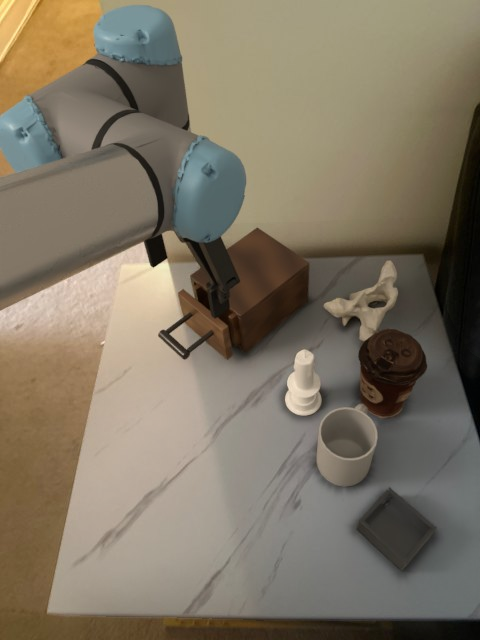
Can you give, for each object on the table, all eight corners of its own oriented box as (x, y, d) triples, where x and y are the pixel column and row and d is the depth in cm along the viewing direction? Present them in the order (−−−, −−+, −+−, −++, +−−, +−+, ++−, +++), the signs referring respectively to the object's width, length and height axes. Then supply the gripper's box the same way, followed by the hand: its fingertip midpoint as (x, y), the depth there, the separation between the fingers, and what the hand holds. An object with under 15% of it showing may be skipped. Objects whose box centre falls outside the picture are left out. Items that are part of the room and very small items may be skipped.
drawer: (197, 385, 85) (189, 356, 79) (155, 345, 90) (145, 315, 84) (287, 310, 92) (287, 279, 86) (244, 278, 97) (241, 246, 91)
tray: (401, 571, 68) (406, 564, 65) (356, 529, 71) (358, 520, 69) (431, 536, 70) (436, 527, 68) (385, 496, 74) (389, 486, 71)
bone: (326, 329, 92) (320, 296, 86) (370, 273, 98) (367, 239, 92) (375, 350, 87) (372, 317, 81) (418, 290, 93) (418, 255, 87)
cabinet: (245, 353, 89) (240, 316, 81) (197, 313, 95) (189, 275, 87) (308, 301, 94) (309, 262, 87) (259, 266, 100) (257, 227, 92)
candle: (284, 384, 85) (284, 338, 76) (320, 384, 85) (324, 337, 75) (285, 416, 82) (284, 372, 72) (322, 416, 81) (326, 371, 72)
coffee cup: (361, 431, 80) (372, 383, 69) (343, 382, 85) (350, 330, 74) (420, 417, 80) (439, 368, 70) (398, 369, 85) (413, 317, 75)
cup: (307, 473, 76) (309, 444, 69) (336, 414, 81) (340, 382, 74) (357, 497, 74) (364, 470, 67) (384, 434, 79) (393, 403, 72)
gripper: (264, 192, 58) (269, 318, 75) (124, 105, 70) (155, 230, 87) (210, 229, 55) (228, 352, 72) (73, 131, 67) (116, 256, 84)
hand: (188, 285), depth 79 cm, fingers open, 13 cm apart
